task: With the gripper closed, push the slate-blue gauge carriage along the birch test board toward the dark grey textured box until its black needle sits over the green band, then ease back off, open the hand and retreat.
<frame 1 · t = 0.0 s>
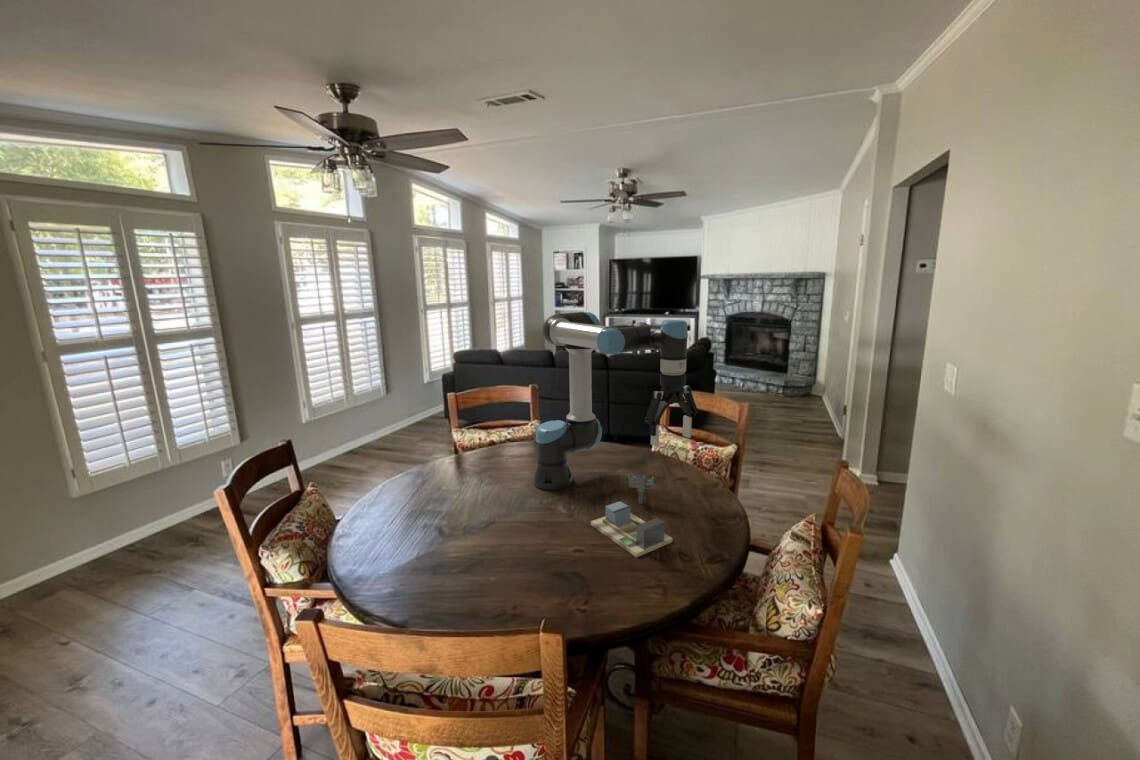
hand: (671, 441, 143), 28 cm above the table, fingers open, 13 cm apart
board: (630, 533, 145), on the table
carriage: (617, 513, 149), point 4 cm above the table, slide at 0.0 cm
dark grey textured box: (650, 546, 137), resting on board
mechanical component: (640, 503, 164), on the table
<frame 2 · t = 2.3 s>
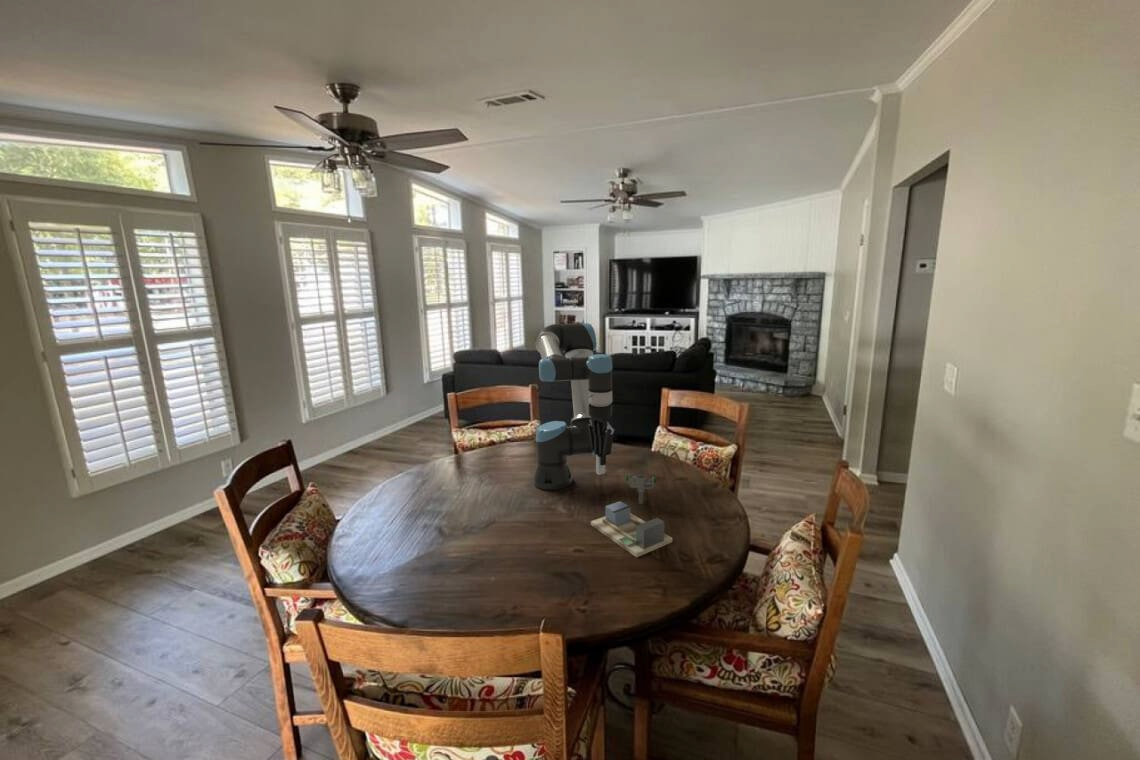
hand: (600, 473, 154), 15 cm above the table, fingers closed
nothing on the table moved.
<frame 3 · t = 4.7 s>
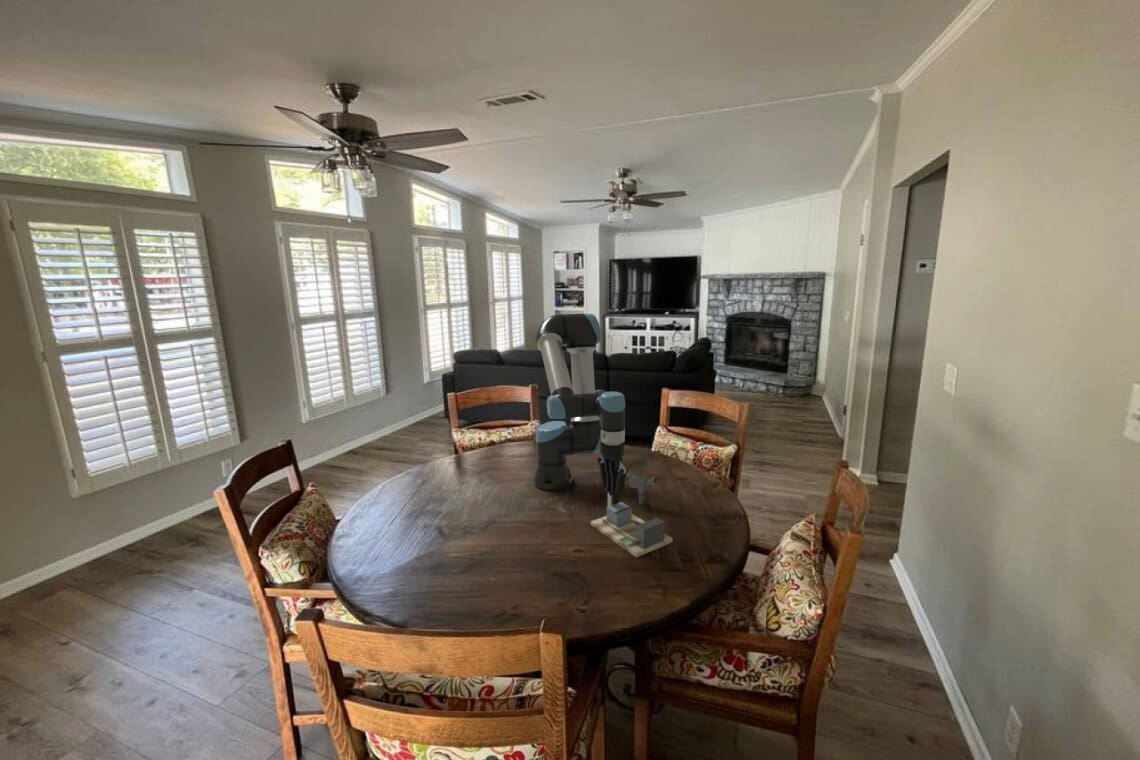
hand: (612, 511, 151), 4 cm above the table, fingers closed
carriage: (619, 514, 148), point 4 cm above the table, slide at 0.7 cm, touching gripper
everything else where it was.
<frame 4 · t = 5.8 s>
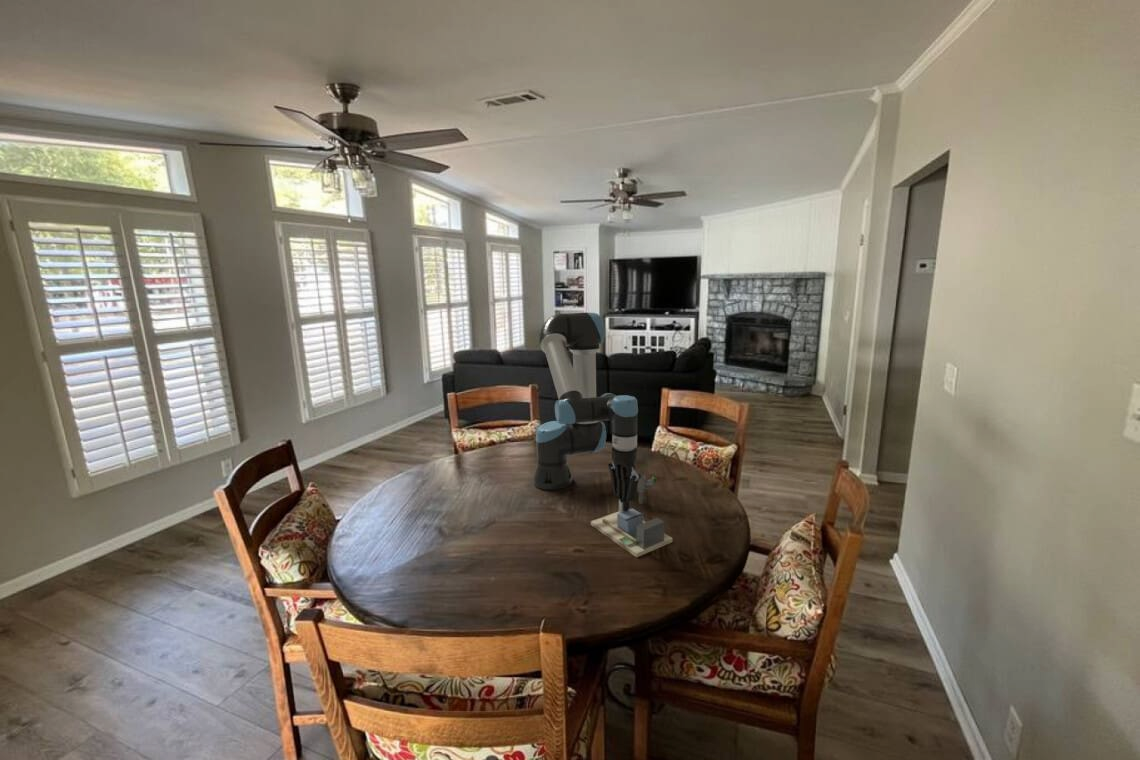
hand: (623, 518, 146), 4 cm above the table, fingers closed
carriage: (630, 521, 144), point 4 cm above the table, slide at 6.0 cm, touching board, gripper
everything else where it was.
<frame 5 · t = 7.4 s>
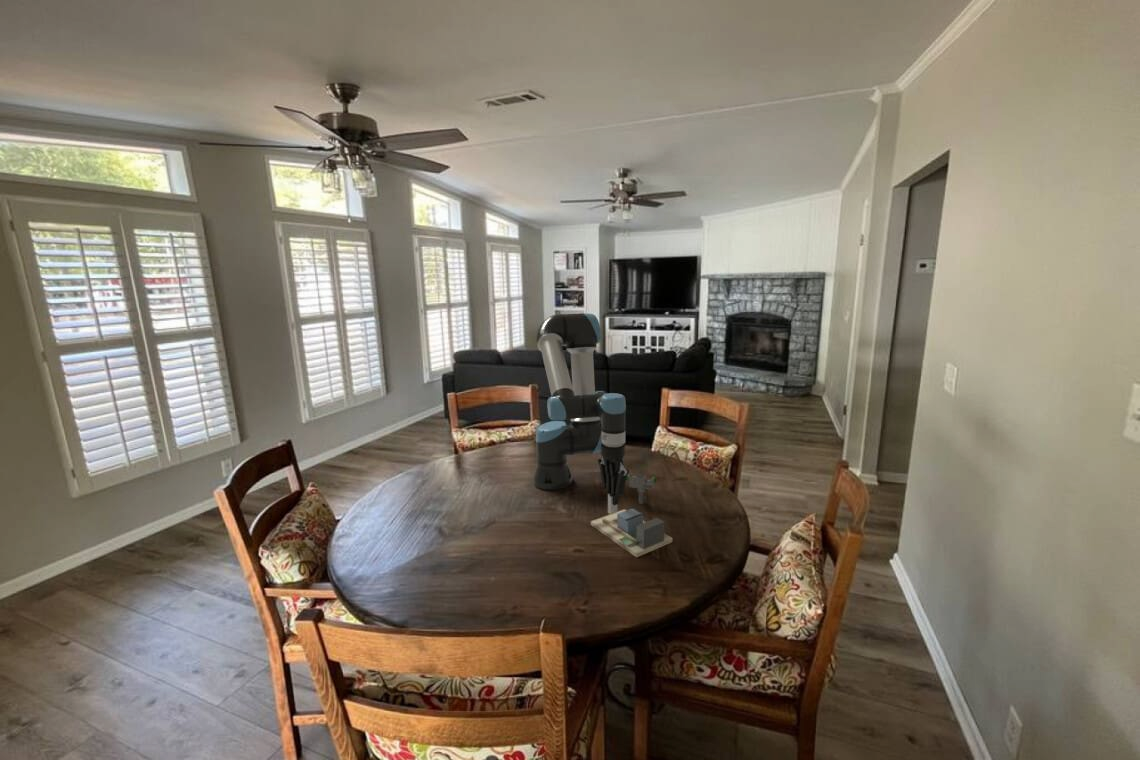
hand: (612, 512, 151), 3 cm above the table, fingers closed
carriage: (630, 521, 144), point 4 cm above the table, slide at 6.0 cm, touching board
everything else where it was.
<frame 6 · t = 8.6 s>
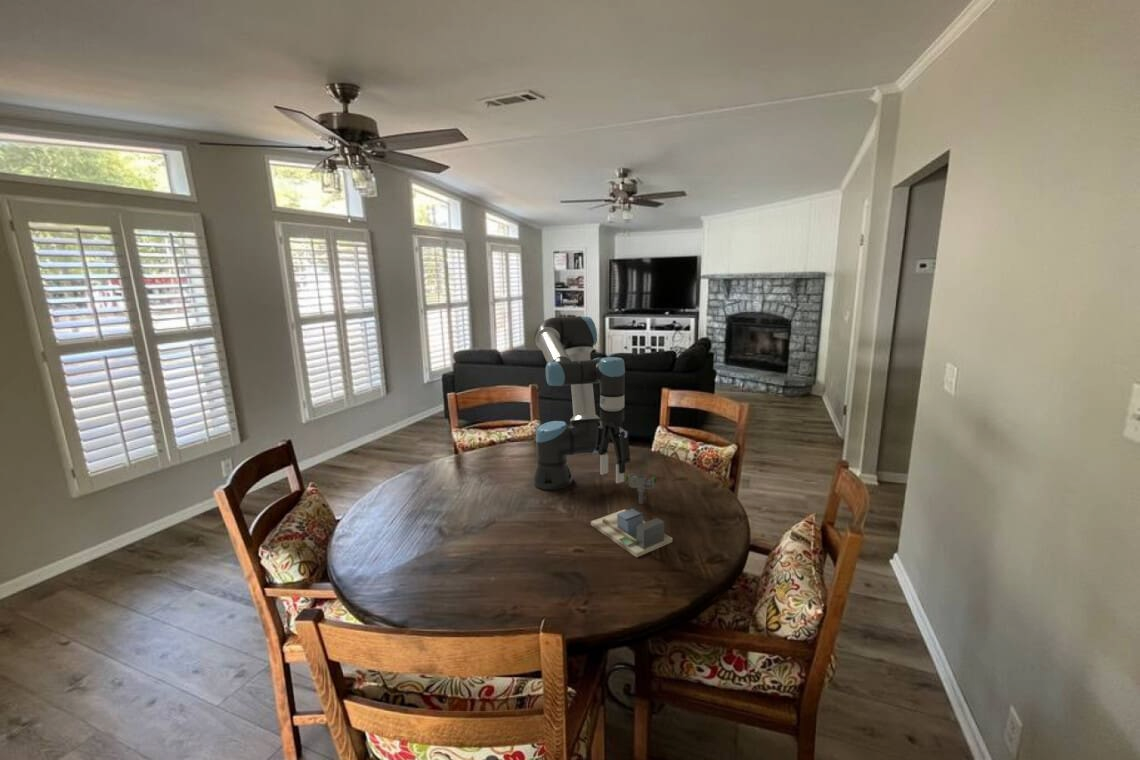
hand: (611, 477, 149), 15 cm above the table, fingers open, 7 cm apart
nothing on the table moved.
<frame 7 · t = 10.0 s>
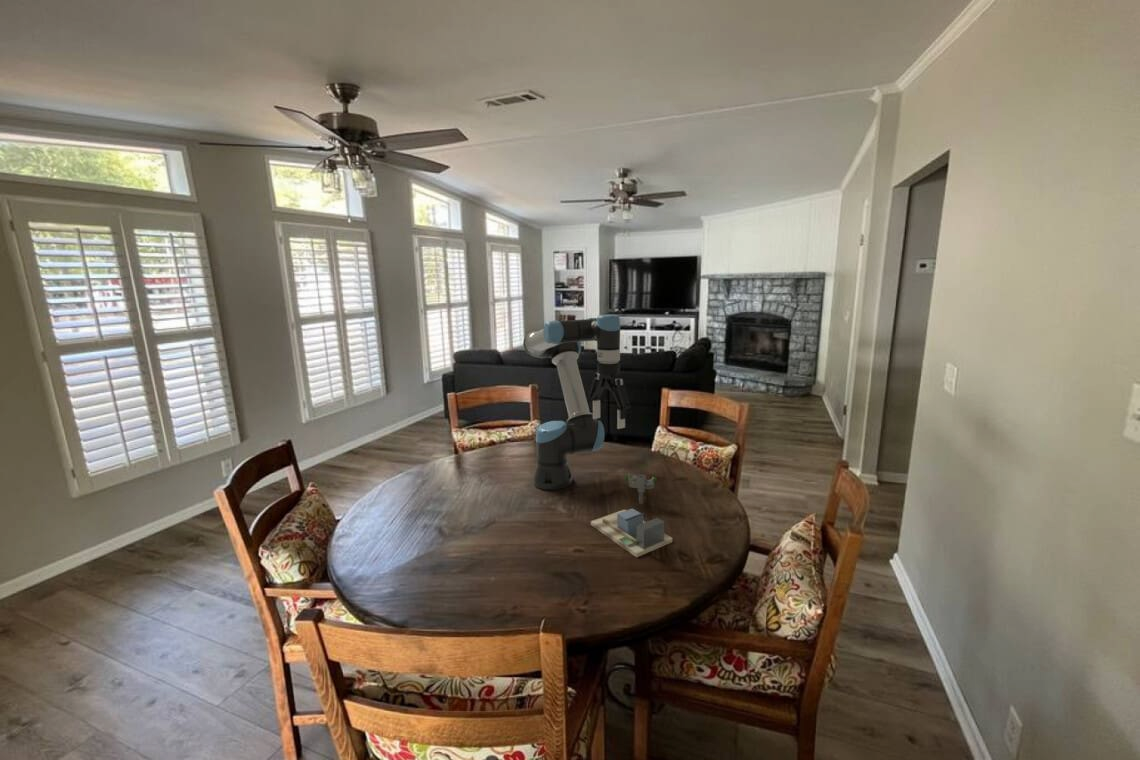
hand: (608, 423, 160), 29 cm above the table, fingers open, 13 cm apart
nothing on the table moved.
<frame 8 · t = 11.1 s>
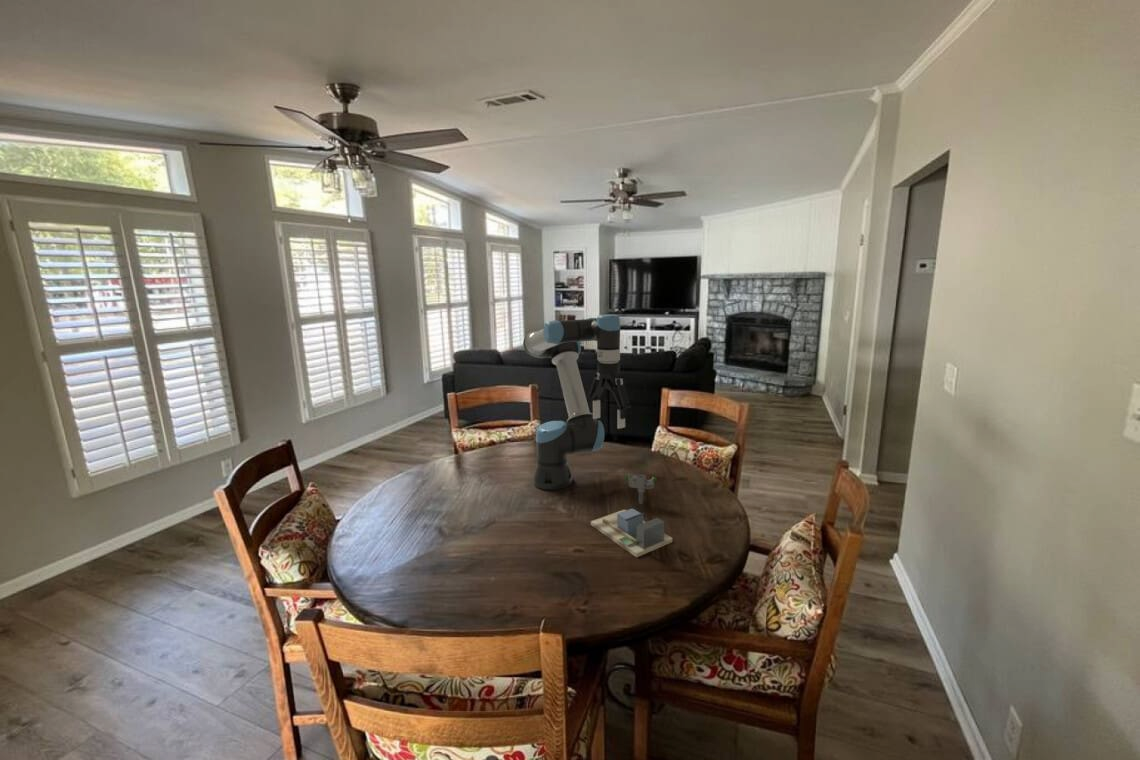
hand: (608, 422, 160), 29 cm above the table, fingers open, 13 cm apart
nothing on the table moved.
at the end: carriage slide at 6.0 cm; carriage touching board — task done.
